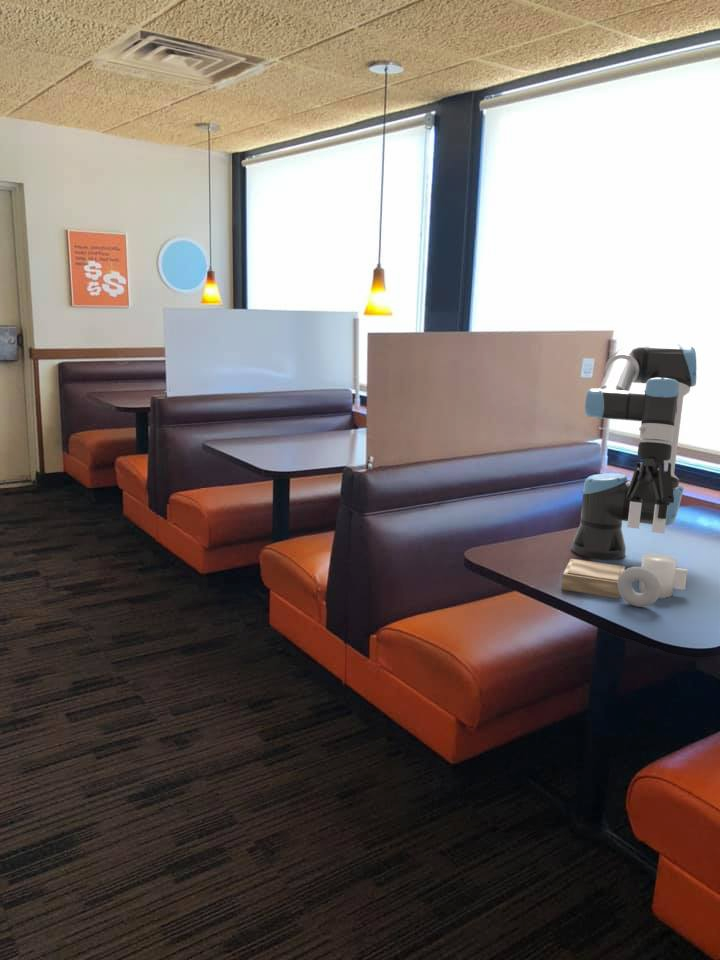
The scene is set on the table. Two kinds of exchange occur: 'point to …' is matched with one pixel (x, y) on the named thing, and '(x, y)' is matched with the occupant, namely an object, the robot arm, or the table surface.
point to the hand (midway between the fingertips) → (645, 530)
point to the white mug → (664, 573)
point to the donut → (644, 576)
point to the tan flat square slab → (592, 578)
